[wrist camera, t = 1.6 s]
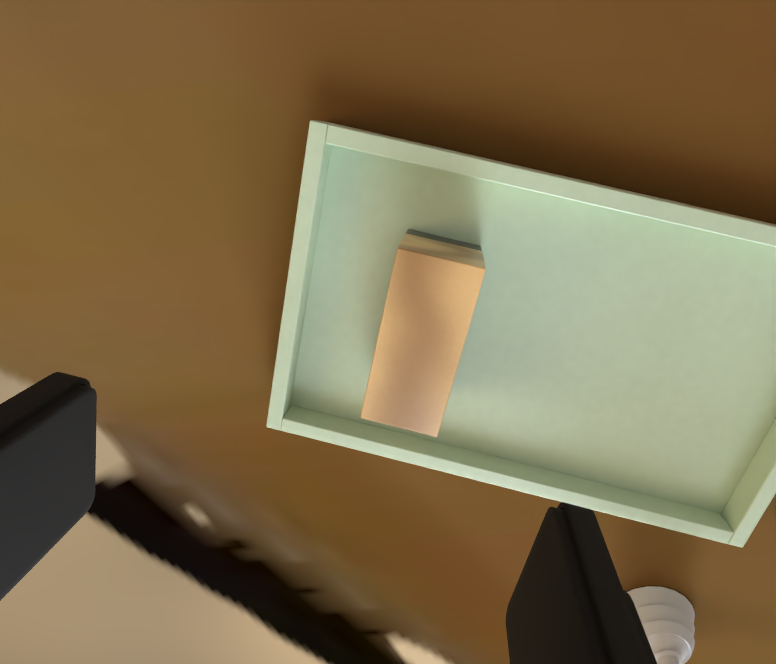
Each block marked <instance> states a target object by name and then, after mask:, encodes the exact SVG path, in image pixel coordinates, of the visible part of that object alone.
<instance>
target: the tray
mask: <svg viewBox="0 0 776 664" xmlns="http://www.w3.org/2000/svg"><path fill="white" fill-rule="evenodd" d="M408 229H412V230H416V231H420V232H424V233H429V234H433V235H437V236H441V237H446V238H450V239H454V240H458V241H463V242H467V243H471V244H475V245H480V246H481V249H482V252H483V257H484V262H485V267H486V271H485V275H484V278H483V281H482V285H481V288H480V292H479V295H478V299H477V302H476V306H475V309H474V313H473V316H472V319H471V323H470V326H469V330H468V333H467V337H466V340H465V344H464V347H463V351H462V354H461V357H460V361H459V364H458V368H457V371H456V375H455V378H454V382H453V385H452V389H451V392H450V395H449V399H448V402H447V406H446V409H445V413H444V416H443V420H442V423H441V427H440V430H439V433H438V436H437V437H434V436H430V435H426V434H422V433H418V432H414V431H410V430H406V429H402V428H398V427H394V426H390V425H386V424H382V423H379V422H375V421H371V420H367V419H363V418H360V415H361V411H362V406H363V402H364V397H365V393H366V388H367V383H368V379H369V374H370V370H371V365H372V361H373V356H374V352H375V347H376V343H377V338H378V333H379V329H380V324H381V320H382V315H383V311H384V306H385V302H386V297H387V293H388V288H389V283H390V279H391V274H392V270H393V265H394V261H395V256H396V252H397V248H398V246H399V244H400V242H401V240H402V238H403V237H404V235H405V233H406V231H407V230H408ZM266 426H267V427H269V428H273V429H277V430H282V431H285V432H289V433H293V434H297V435H301V436H305V437H309V438H313V439H317V440H321V441H325V442H329V443H332V444H336V445H340V446H344V447H348V448H352V449H356V450H360V451H364V452H368V453H372V454H376V455H380V456H384V457H388V458H391V459H395V460H399V461H403V462H407V463H411V464H415V465H419V466H423V467H427V468H431V469H435V470H439V471H443V472H447V473H451V474H454V475H458V476H462V477H466V478H470V479H474V480H478V481H482V482H486V483H490V484H494V485H498V486H502V487H506V488H510V489H513V490H517V491H521V492H525V493H529V494H533V495H537V496H541V497H545V498H549V499H553V500H557V501H561V502H565V503H569V504H573V505H576V506H580V507H584V508H588V509H592V510H596V511H600V512H604V513H608V514H612V515H616V516H620V517H624V518H628V519H632V520H636V521H639V522H643V523H647V524H651V525H655V526H659V527H663V528H667V529H671V530H675V531H679V532H683V533H687V534H691V535H695V536H698V537H702V538H706V539H710V540H714V541H718V542H722V543H726V544H727V543H728V544H730V545H734V546H738V547H743V546H744V544H745V543H746V541H747V539H748V538H749V536H750V534H751V533H752V531H753V530H754V528H755V526H756V525H757V523H758V521H759V520H760V518H761V516H762V515H763V513H764V511H765V510H766V508H767V506H768V505H769V503H770V501H771V500H772V498H773V497H774V495H775V493H776V224H772V223H767V222H763V221H759V220H754V219H750V218H745V217H741V216H737V215H732V214H728V213H724V212H719V211H715V210H710V209H706V208H702V207H697V206H693V205H689V204H684V203H680V202H675V201H671V200H667V199H662V198H658V197H654V196H649V195H645V194H641V193H636V192H632V191H627V190H623V189H619V188H614V187H610V186H606V185H601V184H597V183H592V182H588V181H584V180H579V179H575V178H571V177H566V176H562V175H557V174H553V173H549V172H544V171H540V170H536V169H531V168H527V167H522V166H518V165H514V164H509V163H505V162H501V161H496V160H492V159H487V158H483V157H479V156H474V155H470V154H466V153H461V152H457V151H452V150H448V149H444V148H439V147H435V146H431V145H426V144H422V143H417V142H413V141H409V140H404V139H400V138H396V137H391V136H387V135H382V134H378V133H374V132H369V131H365V130H361V129H356V128H352V127H347V126H343V125H339V124H334V123H330V122H326V121H317V120H310V123H309V130H308V137H307V144H306V151H305V158H304V166H303V173H302V180H301V187H300V194H299V201H298V208H297V215H296V222H295V229H294V236H293V243H292V250H291V257H290V264H289V271H288V278H287V285H286V292H285V299H284V306H283V313H282V320H281V327H280V334H279V341H278V348H277V355H276V362H275V369H274V376H273V383H272V390H271V397H270V404H269V411H268V418H267V425H266Z"/></svg>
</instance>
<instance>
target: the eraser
mask: <svg viewBox="0 0 776 664" xmlns="http://www.w3.org/2000/svg"><path fill="white" fill-rule="evenodd" d="M485 271H486V267H485V262H484V257H483V252H482V249H481V246H480V245H475V244H471V243H467V242H463V241H458V240H454V239H450V238H446V237H441V236H437V235H433V234H429V233H424V232H420V231H416V230H412V229H408V230H407V231H406V233H405V235H404V237H403V238H402V240H401V242H400V244H399V246H398V248H397V252H396V256H395V261H394V265H393V270H392V274H391V279H390V283H389V288H388V293H387V297H386V302H385V306H384V311H383V315H382V320H381V324H380V329H379V333H378V338H377V343H376V347H375V352H374V356H373V361H372V365H371V370H370V374H369V379H368V383H367V388H366V393H365V397H364V402H363V406H362V411H361V415H360V418H363V419H367V420H371V421H375V422H379V423H382V424H386V425H390V426H394V427H398V428H402V429H406V430H410V431H414V432H418V433H422V434H426V435H430V436H434V437H437V436H438V433H439V430H440V427H441V423H442V420H443V416H444V413H445V409H446V406H447V402H448V399H449V395H450V392H451V389H452V385H453V382H454V378H455V375H456V371H457V368H458V364H459V361H460V357H461V354H462V351H463V347H464V344H465V340H466V337H467V333H468V330H469V326H470V323H471V319H472V316H473V313H474V309H475V306H476V302H477V299H478V295H479V292H480V288H481V285H482V281H483V278H484V275H485Z"/></svg>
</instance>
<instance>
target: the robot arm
mask: <svg viewBox="0 0 776 664" xmlns="http://www.w3.org/2000/svg"><path fill="white" fill-rule="evenodd" d="M96 400H97V396H96V391H95V389H93V388H91V386H90V383H89V381H88V380H87V379H84V378H80V377H77V376H73V375H69V374H65V373H61V372H56V373H53V374H51V375H49V376H48V377H46V378H44V379H42V380H41V381H39V382H37V383H36V384H34V385H32V386H31V387H29V388H27V389H25V390H24V391H22V392H20V393H19V394H17V395H15V396H14V397H12V398H10V399H8V400H7V401H5V402H3V403H2V404H0V600H1V599H2V598H3V597H4V596H5V595H6V594H7V593H8V592H9V591H10V590H11V589H12V588H13V587H14V586H15V585H16V584H17V583H18V582H19V581H20V580H21V579H22V578H23V577H24V576H25V575H26V574H27V573H28V572H29V571H30V570H31V569H32V568H33V567H34V566H35V565H36V564H37V563H38V562H39V561H40V559H42V558H43V556H44V555H45V554H46V553H47V552H48V551H49V550H50V549H51V548H52V547H53V546H54V545H55V544H56V543H57V542H58V541H59V540H60V539H61V538H62V537H63V536H64V535H65V534H66V533H67V532H68V531H69V530H70V529H71V528H72V527H73V526H74V525H75V524H76V523H77V522H78V521H79V520H80V518H82V517H83V516H84V515H85V514H86V512H87V511H88V510H89V508H90V507H91V505H92V503H93V500H94V497H95V459H96ZM506 629H507V638H508V648H509V657H510V664H657V662H656V659H655V656H654V654H653V651H652V649H651V646H650V643H649V641H648V638H647V636H646V633H645V631H644V628H643V625H642V623H641V620H640V618H639V615H638V612H637V610H636V607H635V605H634V602H633V600H632V598H631V596H630V595H629V594H628V593H627V592H626V591H625V590H623V589H622V586H621V584H620V581H619V578H618V576H617V573H616V570H615V567H614V565H613V562H612V559H611V557H610V554H609V551H608V549H607V546H606V543H605V541H604V538H603V535H602V533H601V530H600V527H599V525H598V522H597V519H596V516H595V514H594V512H593V511H592V510H591V509H588V508H584V507H580V506H576V505H573V504H569V503H565V502H562V503H560V504H559V506H558V507H557V508H554V507H550V508H549V509H548V511H547V513H546V515H545V517H544V520H543V522H542V525H541V527H540V530H539V532H538V534H537V537H536V539H535V542H534V544H533V546H532V549H531V551H530V554H529V556H528V558H527V561H526V563H525V566H524V568H523V571H522V573H521V575H520V578H519V580H518V583H517V585H516V587H515V590H514V592H513V595H512V597H511V600H510V602H509V605H508V608H507V614H506Z"/></svg>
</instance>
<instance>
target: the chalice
mask: <svg viewBox="0 0 776 664" xmlns="http://www.w3.org/2000/svg"><path fill="white" fill-rule="evenodd" d="M627 593H628V594H629V595H630V596H631V598H632V600H633V602H634V605H635V607H636V610H637V612H638V615H639V618H640V620H641V623H642V625H643V628H644V631H645V633H646V636H647V638H648V641H649V643H650V646H651V649H652V651H653V654H654V656H655V659H656V662H657V664H684V663H686V662H687V661H688V659H689V658H690V656H691V654H692V652H693V649H694V644H695V640H694V631H695V628H694V625H693V624H694V618H695V613H694V610H693V606H692V604H691V603H690V602H689V601H688V600H687V598H686V597H685V596H683V595H681V594H680V593H678V592H676V591H675V590H671V589H668V588H664V587H653V586H646V587H641V588H636V589H633V590H631V591H628V592H627Z"/></svg>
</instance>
